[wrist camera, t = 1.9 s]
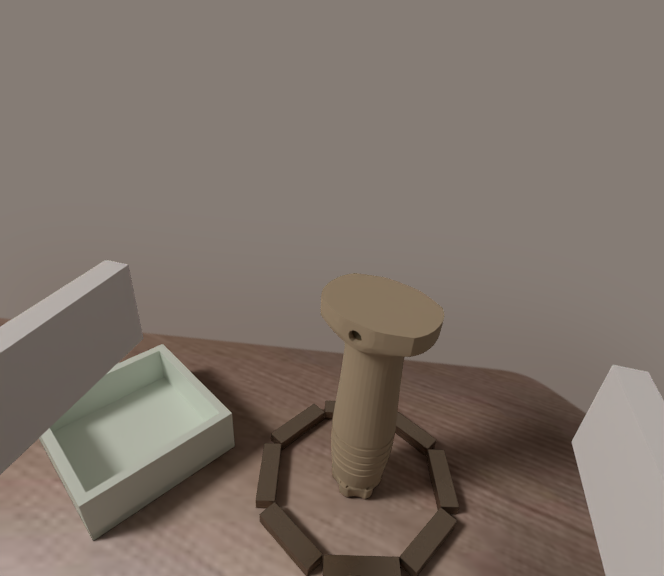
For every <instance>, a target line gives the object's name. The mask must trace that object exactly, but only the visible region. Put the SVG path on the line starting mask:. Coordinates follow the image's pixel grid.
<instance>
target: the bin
mask: <svg viewBox="0 0 664 576" xmlns="http://www.w3.org/2000/svg"><path fill="white" fill-rule="evenodd" d="M39 439H40V441H41V443H42V445H43V447H44V449H45V451H46V453H47V454H48V456H49V458H50V460H51V462H52V464H53V466H54V468H55V470H56V472H57V473H58V475H59V477H60V479H61V481H62V483H63V485H64V487H65V489H66V491H67V492H68V494H69V496H70V498H71V500H72V502H73V504H74V506H75V508H76V510H77V511H78V513H79V515H80V517H81V519H82V521H83V523H84V525H85V527H86V529H87V530H88V532H89V534H90V536H91V538H92V540H93V541H94V540H95V539H97V538H98V537H100V536H101V535H103V534H104V533H106V532H107V531H109V530H110V529H112V528H113V527H115V526H116V525H118V524H119V523H121V522H122V521H124V520H125V519H127V518H128V517H130V516H131V515H133V514H134V513H136V512H137V511H139V510H140V509H142V508H143V507H145V506H146V505H148V504H149V503H151V502H152V501H154V500H155V499H157V498H158V497H160V496H161V495H163V494H164V493H166V492H167V491H169V490H170V489H172V488H173V487H175V486H176V485H178V484H179V483H181V482H182V481H184V480H185V479H187V478H188V477H190V476H191V475H193V474H194V473H196V472H197V471H199V470H200V469H201V468H203V467H204V466H206V465H207V464H209V463H210V462H212V461H213V460H215V459H216V458H218V457H219V456H221V455H222V454H224V453H225V452H227V451H228V450H230V449H231V448H233V447H234V446H235V443H234V432H233V420H232V413H231V412H230V411H229V410H228V409H227V408H226V407H225V406H224V405H223V404H222V403H221V402H220V401H219V400H218V399H217V398H216V397H215V396H214V395H213V394H212V393H211V392H210V391H209V390H208V389H207V388H206V387H205V386H204V385H203V384H202V383H201V382H200V381H199V380H198V379H197V378H196V377H195V376H194V375H193V374H192V373H191V372H190V371H189V370H188V369H187V368H186V367H185V366H184V365H183V364H182V363H181V362H180V361H179V360H178V359H177V358H176V357H175V356H174V355H173V354H172V353H171V352H170V351H169V350H168V349H167V348H166V347H165V346H164V345H163V344H162V345H159V346H157V347H155V348H152V349H150V350H148V351H146V352H143V353H141V354H139V355H137V356H134V357H132V358H130V359H128V360H125V361H123V362H121V363H118V364H116V365H115V366H114V367H113V368H112V369H111V370H110V371H109V372H108V373H107V374H106V375H105V376H104V377H103V378H101V379H100V380H99V381H98V382H97V383H96V384H95V385H94V386H93V387H92V388H91V389H90V390H89V391H88V392H87V393H86V394H85V395H84V396H83V397H81V398H80V399H79V400H78V401H77V402H76V403H75V404H74V405H73V406H72V407H71V408H70V409H69V410H68V411H67V412H66V413H65V414H64V415H63V416H62V417H60V418H59V419H58V420H57V421H56V422H55V423H54V424H53V425H52V426H51V427H50V428H49V429H48V430H47V431H46V432H45V433H44V434H43V435H42V436H40V437H39Z"/></svg>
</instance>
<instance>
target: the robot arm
mask: <svg viewBox="0 0 664 576" xmlns="http://www.w3.org/2000/svg"><path fill="white" fill-rule="evenodd" d="M142 339H143V334H142V329H141V324H140V319H139V315H138V310H137V305H136V300H135V295H134V290H133V285H132V280H131V275H130V270H129V265H128V264H123V263H118V262H113V261H108V260H105V261H103V262H102V263H100V264H99V265H97V266H96V267H94V268H92V269H91V270H89V271H88V272H86V273H84V274H83V275H81V276H80V277H78V278H77V279H75V280H73V281H72V282H70V283H69V284H67V285H66V286H64V287H62V288H61V289H59V290H58V291H56V292H54V293H53V294H51V295H50V296H48V297H47V298H45V299H43V300H42V301H40V302H39V303H37V304H36V305H34V306H33V307H31V308H29V309H28V310H26V311H25V312H23V313H21V314H20V315H18V316H17V317H15V318H13V319H12V320H10V321H9V322H7V323H6V324H4V325H2V326H1V327H0V475H1V474H2V473H3V472H4V471H5V470H6V469H7V468H8V467H9V466H10V465H11V464H12V463H13V462H14V461H15V460H16V459H17V458H18V457H19V456H21V455H22V454H23V453H24V452H25V451H26V450H27V449H28V448H29V447H30V446H31V445H32V444H33V443H34V442H35V441H36V440H37V439H38V438H39V437H40V436H42V435H43V434H44V433H45V432H46V431H47V430H48V429H49V428H50V427H51V426H52V425H53V424H54V423H55V422H56V421H57V420H58V419H59V418H60V417H62V416H63V415H64V414H65V413H66V412H67V411H68V410H69V409H70V408H71V407H72V406H73V405H74V404H75V403H76V402H77V401H78V400H79V399H80V398H81V397H83V396H84V395H85V394H86V393H87V392H88V391H89V390H90V389H91V388H92V387H93V386H94V385H95V384H96V383H97V382H98V381H99V380H100V379H101V378H103V377H104V376H105V375H106V374H107V373H108V372H109V371H110V370H111V369H112V368H113V367H114V366H115V365H116V364H117V363H118V362H119V361H120V360H121V359H122V358H124V357H125V356H126V355H127V354H128V353H129V352H130V351H131V350H132V349H133V348H134V347H135V346H136V345H137V344H138V343H139V342H140V341H141V340H142ZM572 446H573V450H574V453H575V457H576V461H577V465H578V469H579V473H580V477H581V481H582V485H583V489H584V493H585V497H586V501H587V504H588V508H589V512H590V516H591V520H592V524H593V528H594V532H595V536H596V540H597V544H598V548H599V551H600V555H601V559H602V563H603V567H604V571H605V575H606V576H664V401H663V399H662V397H661V395H660V393H659V391H658V389H657V387H656V386H655V384H654V382H653V380H652V378H651V376H650V374H649V372H646V371H641V370H636V369H631V368H627V367H622V366H617V365H612V367H611V369H610V371H609V373H608V375H607V377H606V378H605V380H604V382H603V384H602V386H601V388H600V389H599V391H598V393H597V395H596V397H595V399H594V401H593V403H592V404H591V406H590V408H589V410H588V412H587V414H586V416H585V417H584V419H583V421H582V423H581V425H580V427H579V429H578V431H577V432H576V434H575V436H574V438H573V440H572Z"/></svg>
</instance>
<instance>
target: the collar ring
mask: <svg viewBox="0 0 664 576" xmlns="http://www.w3.org/2000/svg"><path fill="white" fill-rule="evenodd" d="M335 403H336V401H325V412H324V411H323V410H321V409H320V408H319V407H318V406H317V405H315V404H313V405H311V406H310V407H308V408H307V409H306V410H304V411H303V412H301V413H300V414H298V415H297V416H295V417H294V418H293V419H291V420H290V421H288V422H287V423H285V424H284V425H282V426H281V427H280V428H278V429H277V430H275V431H274V432H272V433H271V441H272V442H273V443H274V444H269V443H264V450H263V456H262V463H261V469H260V475H259V482H258V488H257V495H256V508H267V509H265V510H264V511H263V512H262V513H261V514H260V522H261V524H262V525H263V526H264V527H265V528H266V529H267V531H268V532H269V533H270V534H271V535H272V536H273V538H274V539H275V540H276V541H277V542H278V544H279V545H280V546H281V547H282V548H283V549H284V551H285V552H286V553H287V554H288V555H289V556H290V558H291V559H292V560H293V561H294V562H295V563H296V565H297V566H298V567H299V568H300V569H301V570H302V572H303V573H304V574H305V575H306V576H308V575H309V574H310V573H311V572H312V571H313V570H314V569H315V568H316V567H317V566H318V565H319V564H320V563H321V562H322V553H321V552H320V551H319V550H318V549H317V548H316V547H315V546H314V544H313V543H312V542H311V541H310V540H309V539H308V538H307V537H306V536H305V535H304V534H303V532H302V531H301V530H300V529H299V528H298V527H297V526H296V525H295V524H294V523H293V521H292V520H291V519H290V518H289V517H288V516H287V515H286V514H285V513H284V512H283V511H282V509H281V508H280V507H279V506H278V505H277V504H276V503H275V500H276V491H277V482H278V473H279V465H280V456H281V450H283V449H284V448H285V447H287V446H288V445H289V444H291V443H292V442H294V441H295V440H296V439H298V438H299V437H300V436H302V435H303V434H304V433H306V432H307V431H308V430H310V429H311V428H313V427H314V426H315V425H317V424H318V423H319V422H321V421H322V420H323V419H324V413H325V419H333V414H334V408H335ZM395 433H396V434H398V435H399V436H400V437H402V438H403V439H404V440H405V441H407V442H408V443H409V444H411V445H412V446H413V447H415V448H416V449H417V450H419V451H420V452H421V453H423V454H424V455H425V456H426V458H427V463H428V468H429V472H430V477H431V481H432V486H433V490H434V495H435V500H436V504H437V509H438V511H437V513H436V514H435V515H434V516H433V517H432V519H431V520H430V521H429V522H428V523H427V525H426V526H425V527H424V528H423V529H422V530H421V532H420V533H419V534H418V535H417V536H416V538H415V539H414V540H413V541H412V542H411V544H410V545H409V546H408V547H407V548H406V550H405V551H404V552H403V553H402V554H401V556H400V557H385V556H350V555H323V576H401V571H400V566H401V567H402V568H403V569H404V570H405V571H406V572H407V573H408V574H409V575H410V576H417V575H418V574H419V573H420V572H421V570H422V569H423V568H424V566H425V565H426V564H427V562H428V561H429V560H430V559H431V557H432V556H433V555H434V553H435V552H436V551H437V550H438V548H439V547H440V546H441V544H442V543H443V542H444V540H445V539H446V538H447V537H448V535H449V534H450V533H451V531H452V530H453V529H454V527H455V525H456V522H457V520H456V519H454V518H453V517H452V516H451V515H449V514H457V512H458V509H459V505H458V501H457V497H456V493H455V489H454V486H453V482H452V478H451V474H450V471H449V467H448V463H447V459H446V455H445V452H444V450H432V449H433V448H434V447H435V443H436V439H435V438H433V437H432V436H431V435H429V434H428V433H426V432H425V431H424V430H422V429H421V428H420V427H418V426H417V425H415V424H414V423H413V422H411V421H410V420H408V419H407V418H406V417H404V416H403V415H401V414H400V413H399V412H397V420H396V429H395Z"/></svg>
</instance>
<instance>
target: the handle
mask: <svg viewBox="0 0 664 576" xmlns="http://www.w3.org/2000/svg"><path fill="white" fill-rule="evenodd" d="M321 315H322V317H323V318H324V320H325V321H326V322H327V324H328V325H329V326H330V328H331V329H332V330H333V331H334V332H335V333H336V334H337V335H338V336H339V337H340V338H341V339H342V340H343V341H344V342H345V350H344V356H343V363H342V369H341V375H340V381H339V387H338V392H337V397H336V403H335V408H334V414H333V421H332V432H331V453H332V462H333V463H332V475H333V478H334V479H335V480H336V481H337V482H338V484H339V490H340V493H341V494H342V495H343V496H345V497H349V496H358V497H361V498H363V499H366V498H368V497H370V496H371V494H372V491H373V488H374V487H376V486H378V484H379V483H380V480H381V478H382V473H383V471H384V469H385V466H386V464H387V461H388V458H389V455H390V452H391V449H392V445H393V439H394V435H395V429H396V420H397V410H398V401H399V392H400V384H401V377H402V369H403V362H404V357H411V356H416V355H419V354H422V353H424V352H426V351H427V350H429V349H430V348H431V347H432V346H433V345H434V344H435V342H436V341H437V339H438V337H439V334H440V331H441V327H442V323H443V319H444V312H443V308H442V307H441V306H440V305H438V304H437V303H436V302H434V301H433V300H432V299H431V298H429V297H428V296H427V295H425V294H424V293H422V292H421V291H419V290H417V289H415V288H412V287H410V286H407V285H405V284H402V283H400V282H397V281H394V280H391V279H388V278H384V277H378V276H372V275H365V274H357V273H353V274H347V275H343V276H340V277H338V278H336V279H334V280H332V281H331V282H329V283H328V284H327V285H326V286H325V287H324V289H323V291H322V295H321Z"/></svg>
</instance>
